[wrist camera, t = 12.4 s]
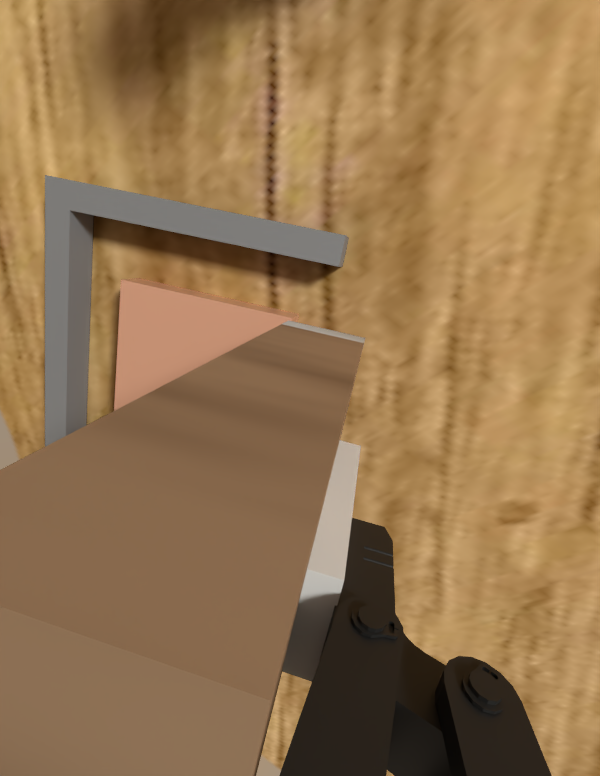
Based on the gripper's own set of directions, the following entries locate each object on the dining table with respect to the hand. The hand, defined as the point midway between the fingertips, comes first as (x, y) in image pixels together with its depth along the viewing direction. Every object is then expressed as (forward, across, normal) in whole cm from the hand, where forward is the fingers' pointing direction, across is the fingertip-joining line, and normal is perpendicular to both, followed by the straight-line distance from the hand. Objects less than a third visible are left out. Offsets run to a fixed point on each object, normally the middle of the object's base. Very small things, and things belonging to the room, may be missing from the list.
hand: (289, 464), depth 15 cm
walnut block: (+3, 0, 0) cm, 3 cm away
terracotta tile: (+6, +6, 0) cm, 9 cm away
